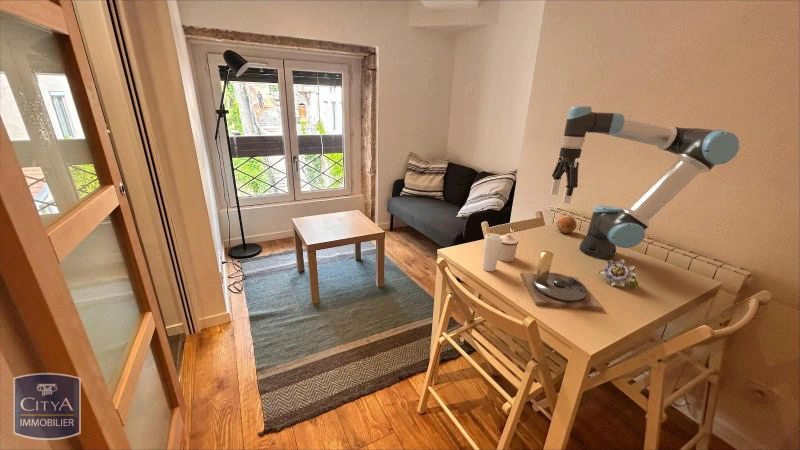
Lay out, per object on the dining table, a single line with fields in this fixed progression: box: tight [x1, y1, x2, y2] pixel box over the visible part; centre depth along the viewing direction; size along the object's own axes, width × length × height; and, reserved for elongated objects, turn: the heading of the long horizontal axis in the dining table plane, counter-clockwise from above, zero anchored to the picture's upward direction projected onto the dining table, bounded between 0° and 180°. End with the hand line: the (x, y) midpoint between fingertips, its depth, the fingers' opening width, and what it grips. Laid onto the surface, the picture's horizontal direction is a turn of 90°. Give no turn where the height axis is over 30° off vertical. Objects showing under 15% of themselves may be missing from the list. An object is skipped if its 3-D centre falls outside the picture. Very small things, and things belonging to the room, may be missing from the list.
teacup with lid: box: [497, 233, 519, 263], centre depth 141 cm, size 12×9×12 cm
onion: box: [556, 214, 577, 234], centre depth 173 cm, size 10×10×10 cm
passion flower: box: [598, 258, 639, 289], centre depth 124 cm, size 11×11×12 cm
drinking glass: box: [482, 232, 503, 272], centre depth 129 cm, size 7×7×15 cm
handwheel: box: [533, 250, 587, 302], centre depth 114 cm, size 18×18×13 cm
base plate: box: [520, 272, 603, 311], centre depth 117 cm, size 22×20×2 cm
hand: (559, 198), depth 132 cm, fingers open, 13 cm apart
